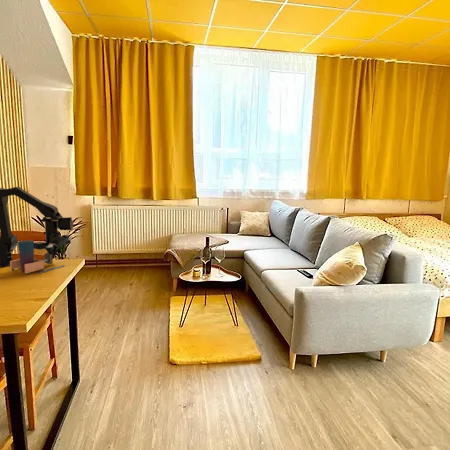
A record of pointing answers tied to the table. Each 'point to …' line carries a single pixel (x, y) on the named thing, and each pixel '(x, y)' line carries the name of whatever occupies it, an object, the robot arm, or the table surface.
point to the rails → (50, 269)
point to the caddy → (32, 264)
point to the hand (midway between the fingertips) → (52, 258)
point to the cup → (26, 252)
